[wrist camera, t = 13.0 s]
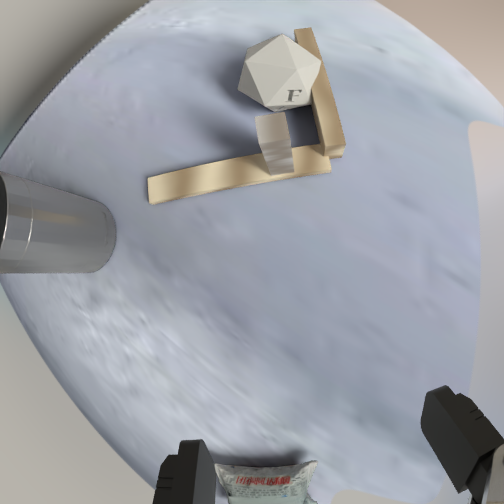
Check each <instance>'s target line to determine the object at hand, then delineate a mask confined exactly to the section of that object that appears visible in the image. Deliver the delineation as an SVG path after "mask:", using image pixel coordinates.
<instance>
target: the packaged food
mask: <svg viewBox="0 0 504 504" xmlns="http://www.w3.org/2000/svg"><path fill="white" fill-rule="evenodd" d="M317 464H318V461H309V462H305V463H303V464H296V465H290V466H282V467H271V468H269V467H263V468H261V467H243V466H233V465H224V464H223V465H221V464H217V463H215V464H214V465H215V470H216V473H217V476H218V477H219V479H220V481H219V482H220V484H221V485H222V486H223V487H224V489H225V491H226V494H227V497H228V503H229V504H318V503H317V501H314V500H313V499H311V497H310V496H309V495H308V494H307V488H308V486H309V484H310V481H311V478H312V476H313V473H314V471H315V468H316V465H317Z"/></svg>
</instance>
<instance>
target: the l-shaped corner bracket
mask: <svg viewBox="0 0 504 504" xmlns="http://www.w3.org/2000/svg"><path fill="white" fill-rule="evenodd" d="M294 34H295V43H297V44H298V45H300V46H301V47H303V48H304V49H305V50H307V51H308V52H310V53H311V54H312V55H314V56H315V57H316V58H318V59H319V60H320V61H321V65H320V70H319V73H318V75H317V77H316V79H315V81H314V83H313V85H312V87H311V90H312V98H313V100H312V104H311V107H312V111H313V115H314V120H315V124H316V128H317V133H318V137H319V141H320V144H315V145H308V146H301V147H295V148H291V141H290V135H289V130H288V125H287V120H286V115H285V112H280V113H274V114H268V115H263V116H257V117H255V123H256V129H257V135H258V141H259V145H260V148H261V150H262V153H259V154H253V155H248V156H243V157H238V158H232V159H228V160H223V161H218V162H213V163H208V164H204V165H199V166H195V167H190V168H186V169H182V170H178V171H174V172H169V173H165V174H161V175H157V176H154V177H150V178H148V193H149V203H150V204H152V205H154V204H159V203H163V202H168V201H172V200H177V199H182V198H186V197H191V196H196V195H201V194H206V193H211V192H216V191H221V190H227V189H232V188H237V187H243V186H248V185H254V184H260V183H265V182H271V181H277V180H284V179H290V178H296V177H303V176H309V175H316V174H323V173H330V172H331V165H330V160H329V159H333V158H341V157H342V155H343V152H344V148H345V145H346V142H345V138H344V134H343V130H342V126H341V122H340V119H339V115H338V111H337V108H336V104H335V100H334V97H333V93H332V90H331V87H330V83H329V80H328V77H327V73H326V70H325V67H324V64H323V61H322V58H321V55H320V52H319V49H318V46H317V43H316V40H315V37H314V34H313V31H312V29H311V28H303V29H295V30H294Z"/></svg>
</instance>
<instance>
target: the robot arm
mask: <svg viewBox="0 0 504 504" xmlns="http://www.w3.org/2000/svg"><path fill="white" fill-rule="evenodd" d="M115 241H116V227H115V222H114V219H113V216H112V214H111V213H110V211H109V209H108V208H107V207H106V206H105V205H103V204H101V203H100V202H97V201H93V200H90V199H87V198H84V197H81V196H78V195H75V194H72V193H69V192H65V191H62V190H59V189H56V188H52V187H49V186H46V185H43V184H40V183H36V182H33V181H30V180H27V179H24V178H20V177H17V176H13V175H10V174H7V173H4V172H1V171H0V273H91V272H95V271H97V270H99V269H100V268H102V267H103V266H104V265H105V264H106V263H107V261H108V260H109V258H110V256H111V255H112V252H113V249H114V246H115ZM421 428H422V432H423V434H424V436H425V437H426V439H427V441H428V442H429V444H430V446H431V447H432V449H433V451H434V452H435V454H436V456H437V457H438V459H439V461H440V462H441V464H442V466H443V468H444V469H445V471H446V473H447V474H448V476H449V478H450V479H451V481H452V483H453V485H454V487H455V488H456V490H457V492H458V493H461V492H462V491H465V490H467V489H469V491H470V493H471V494H470V496H469V499H468V503H467V504H504V439H503V437H502V436H501V435H500V434H499V432H498V431H497V430H496V429H495V427H494V426H493V425H492V424H491V422H490V421H489V420H488V419H487V418H486V417H484V414H483V413H482V412H481V411H480V410H479V409H478V407H477V406H476V405H475V403H474V402H473V401H472V400H471V399H470V398H468V397H466V396H464V395H463V394H461V393H459V394H457V395H455V394H454V393H453V391H452V390H451V389H450V388H449V387H448V386H446V385H444V386H442V387H439V388H437V389H434V390H431V391H429V392H427V394H426V397H425V402H424V407H423V412H422V416H421ZM215 491H216V470H215V465H214V463H213V460H212V458H211V456H210V454H209V451H208V449H207V447H206V445H205V442H204V441H203V440H202V439H200V440H182V441H181V442H180V445H179V450H178V455H168V456H167V458H166V459H165V460H164V462H163V463H162V465H161V467H160V471H159V476H158V480H157V485H156V490H155V494H154V499H153V504H215Z"/></svg>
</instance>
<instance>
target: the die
mask: <svg viewBox="0 0 504 504" xmlns="http://www.w3.org/2000/svg"><path fill="white" fill-rule="evenodd" d="M320 65H321V61H320V60H319V59H318V58H316V57H315V56H314V55H312V54H311V53H310V52H308V51H307V50H305V49H304V48H303V47H301V46H300V45H298V44H297V43H295V42H294V41H293V40H291V39H290V38H288V37H287V36H285V35H284V34H281V35H278V36H276V37H273V38H271V39H268V40H266V41H264V42H261V43H259V44H257V45H254V46H252V47H250V48H248V49H247V52H246V56H245V60H244V64H243V68H242V73H241V77H240V81H239V85H238V89H237V90H239V91H240V92H242V93H244V94H246V95H247V96H249V97H250V98H252V99H254V100H255V101H257V102H259V103H260V104H262V105H263V106H265V107H267V108H268V109H270V110H272V111H273V112H279V111H283V110H286V109H292V108H296V107H301V106H306V105H310V104H312V100H313V98H312V90H311V87H312V85H313V83H314V81H315V79H316V77H317V75H318V73H319V70H320Z"/></svg>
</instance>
